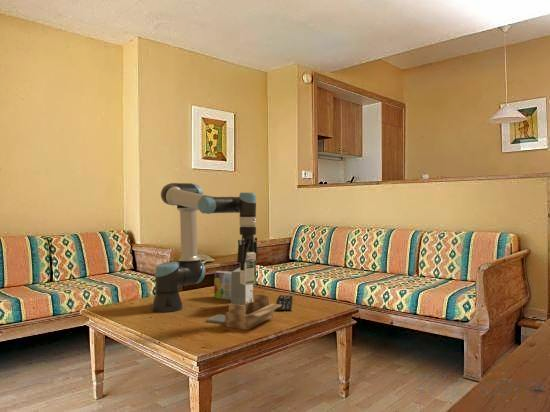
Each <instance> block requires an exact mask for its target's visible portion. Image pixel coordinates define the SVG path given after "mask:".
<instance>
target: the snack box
mask: <svg viewBox="0 0 550 412" xmlns="http://www.w3.org/2000/svg"><path fill="white" fill-rule="evenodd" d="M213 275H214V276H213V277H214V282H213V283H214V284H213V286H214V291H213V292H214V293H213V294H214V299H221V300H222V299H223V300H228V301H231V275H232V271H226V270H225V271H224V270H223V271H222V270H217V271H214V274H213Z"/></svg>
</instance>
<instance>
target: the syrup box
mask: <svg viewBox="0 0 550 412" xmlns="http://www.w3.org/2000/svg"><path fill="white" fill-rule="evenodd" d="M245 263H246V278H243V277H240V283H241V284H243V285H252V284H253V285H257V260H256V253H255V252H249V251H247V256H246V261H245Z"/></svg>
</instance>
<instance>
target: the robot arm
mask: <svg viewBox="0 0 550 412" xmlns="http://www.w3.org/2000/svg"><path fill="white" fill-rule="evenodd" d="M160 197H161V200H162V202H163V203H164V204H166V205H170V206H176V209H177V211H179V222H180V227H179V228H180V257H179V258H178V260H177V261H178V262H177V261H168V262H163V263H160V264H158V265H156V267H155V273H154V277H155V296H154V299H153V301H152V302H153V303H152V305H151V309H152V311H153V312H156V313H157V312H158V313H172V312H176V311H177V312H178V311H179V310H182V309H183V301H182V298H181V296H180V287H183V286H189V285H196V284H199V283H201V282H202V281H203V280H204V278H205V276H206V267H205V264H204V262H202V261H201V258H200V257H199V256H198V228H197V227H198V226H197V225H198V224H197V223H198V221H197V211H200V213H201V214H207V215H211V214H229V213H230V214H232V213H233V214H234V213H235V214H239V235H241V236H242V237H241V239H238V240H237V243H238V245H237V247H238V248H237V258H236V259H237V260H236V261H237V263H238V264H239V268H240V277H243V278H246V263H245V261H246V256H247V252H255V253H256V261H258V259H259V250H258V238H257V237H254V236H255V235H257V227H256V225H257V196H256V193H255V192H240V193H239V196H211V195H206V194H204V192H203V189H202V187H200V185H198V184H196V183H191V182H190V183H189V182H188V183H187V182H183V183H182V182H180V183H178V182H171V183H167V184H166V185H164V186H163V187H162V189H161V191H160Z"/></svg>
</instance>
